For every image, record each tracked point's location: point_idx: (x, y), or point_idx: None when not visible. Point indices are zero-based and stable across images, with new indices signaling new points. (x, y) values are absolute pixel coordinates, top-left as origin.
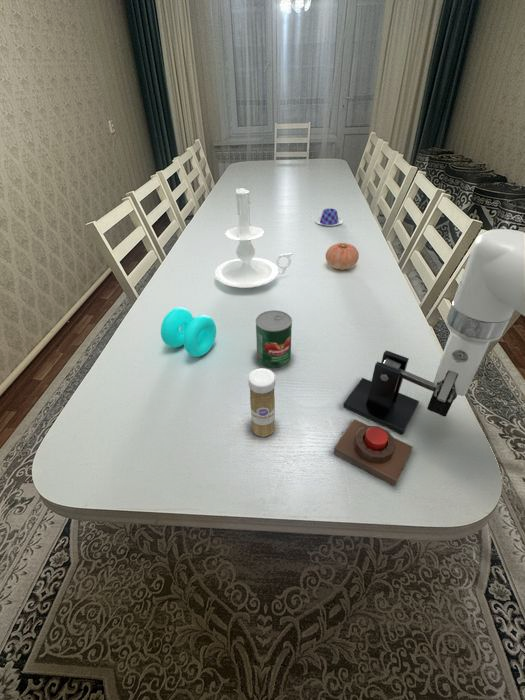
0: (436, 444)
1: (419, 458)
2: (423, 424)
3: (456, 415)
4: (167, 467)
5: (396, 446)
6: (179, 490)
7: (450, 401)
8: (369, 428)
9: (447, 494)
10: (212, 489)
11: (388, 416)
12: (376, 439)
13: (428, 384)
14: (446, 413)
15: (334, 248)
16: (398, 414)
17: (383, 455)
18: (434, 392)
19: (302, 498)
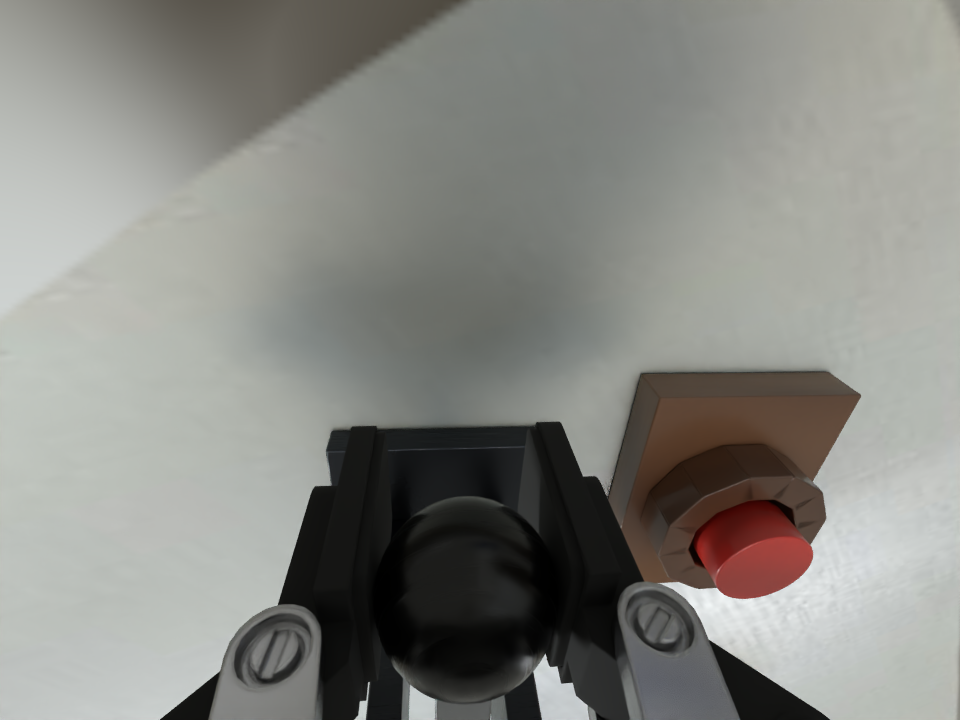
0: (539, 294)
1: (658, 334)
2: (442, 375)
3: (252, 253)
4: (864, 713)
5: (684, 446)
6: (916, 681)
7: (697, 620)
8: (733, 597)
9: (825, 176)
10: (907, 654)
11: (514, 509)
12: (787, 563)
13: (487, 715)
14: (569, 446)
15: None
16: (479, 487)
17: (812, 494)
18: (569, 676)
19: (911, 539)
